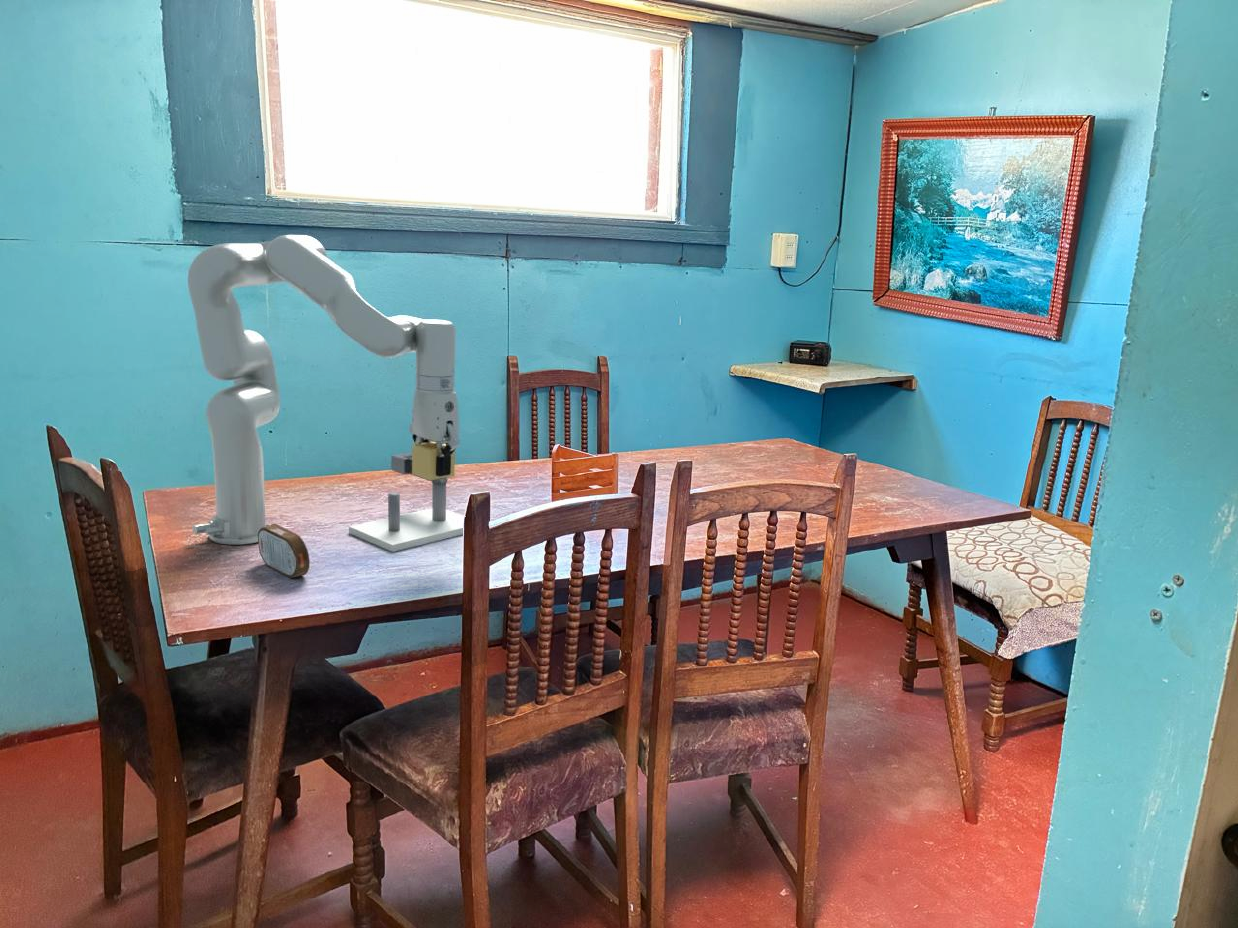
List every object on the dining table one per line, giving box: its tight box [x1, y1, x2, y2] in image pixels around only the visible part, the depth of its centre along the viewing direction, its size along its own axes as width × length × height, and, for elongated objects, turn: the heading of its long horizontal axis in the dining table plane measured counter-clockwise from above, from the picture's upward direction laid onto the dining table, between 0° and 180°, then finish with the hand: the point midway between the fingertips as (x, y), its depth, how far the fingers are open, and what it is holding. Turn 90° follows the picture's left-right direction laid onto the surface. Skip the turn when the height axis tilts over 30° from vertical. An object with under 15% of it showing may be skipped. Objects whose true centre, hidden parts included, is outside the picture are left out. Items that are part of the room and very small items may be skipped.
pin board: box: [348, 482, 464, 553], centre depth 205 cm, size 24×16×10 cm, turn 138°
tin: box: [257, 523, 311, 579], centre depth 178 cm, size 15×3×8 cm, turn 48°
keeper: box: [390, 452, 449, 484], centre depth 212 cm, size 16×5×4 cm, turn 48°
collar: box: [411, 441, 456, 481], centre depth 188 cm, size 6×6×6 cm
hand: (433, 470), depth 189 cm, fingers closed on collar, 6 cm apart
